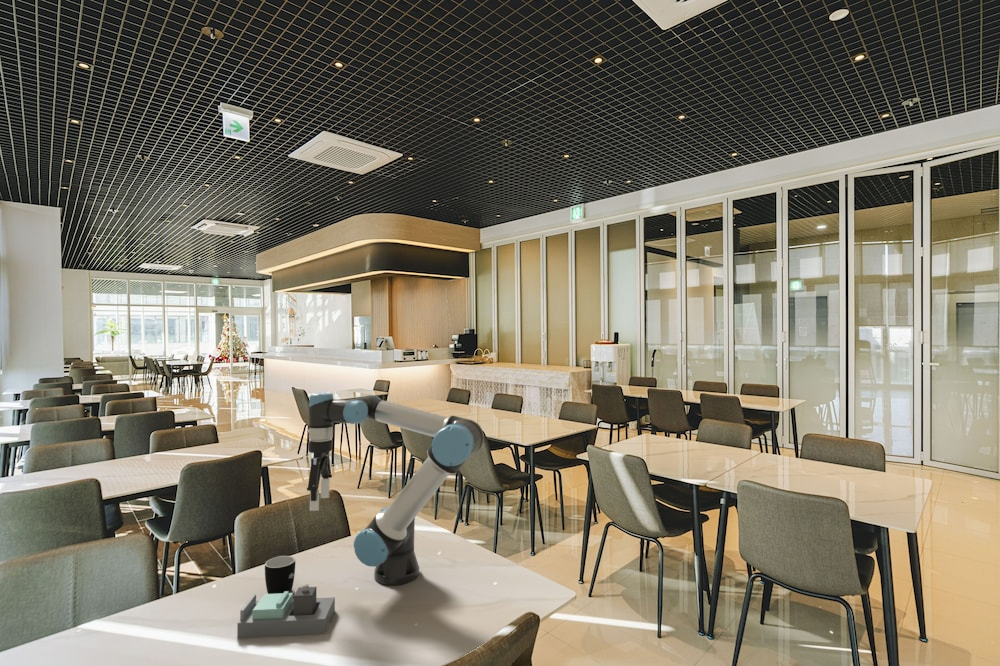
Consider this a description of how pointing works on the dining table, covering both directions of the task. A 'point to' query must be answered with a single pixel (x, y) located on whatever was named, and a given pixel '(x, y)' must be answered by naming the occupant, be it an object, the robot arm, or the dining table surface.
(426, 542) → the dining table surface
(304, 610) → the plug
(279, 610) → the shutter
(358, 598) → the dining table surface
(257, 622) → the socket
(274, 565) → the mug
